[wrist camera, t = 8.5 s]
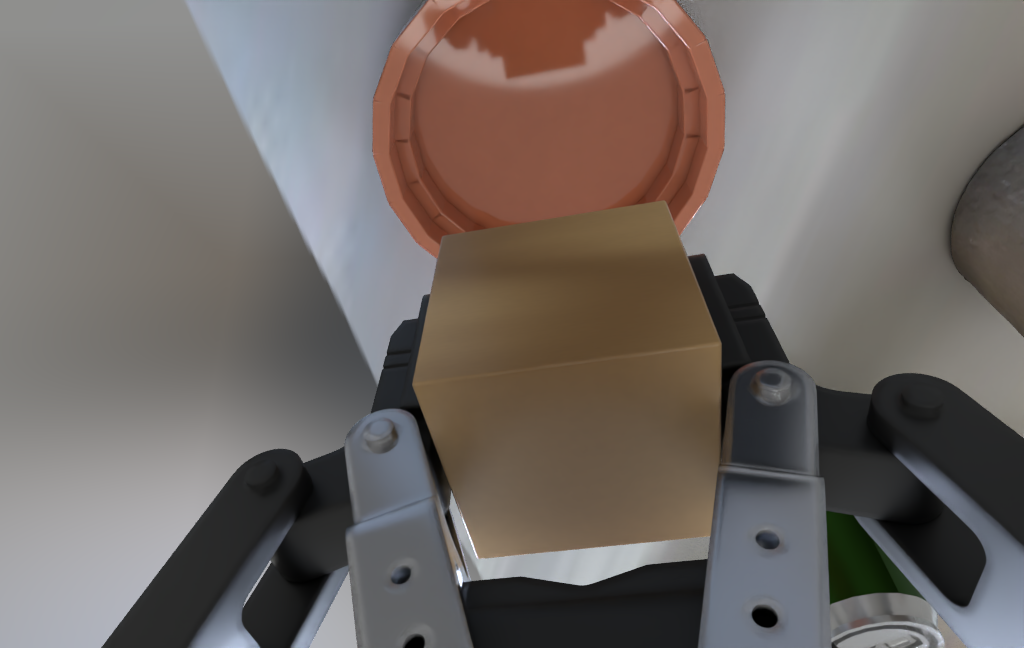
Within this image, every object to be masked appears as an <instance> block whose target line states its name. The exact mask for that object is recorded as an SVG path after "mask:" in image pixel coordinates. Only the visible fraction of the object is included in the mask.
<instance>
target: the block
mask: <svg viewBox="0 0 1024 648" xmlns="http://www.w3.org/2000/svg"><path fill="white" fill-rule="evenodd" d="M721 376H722V343H721V341H720V338H719V336H718V333H717V330H716V328H715V325H714V323H713V320H712V318H711V315H710V313H709V310H708V307H707V305H706V302H705V300H704V297H703V295H702V292H701V290H700V287H699V285H698V282H697V279H696V277H695V274H694V272H693V269H692V267H691V264H690V262H689V259H688V256H687V254H686V251H685V249H684V246H683V244H682V241H681V239H680V236H679V234H678V231H677V228H676V226H675V223H674V221H673V218H672V216H671V213H670V211H669V208H668V206H667V203H666V201H657V202H651V203H644V204H638V205H632V206H626V207H620V208H613V209H607V210H601V211H595V212H588V213H582V214H576V215H570V216H564V217H557V218H551V219H545V220H539V221H533V222H526V223H520V224H514V225H508V226H501V227H495V228H489V229H483V230H477V231H470V232H464V233H458V234H452V235H446V236H442V239H441V244H440V249H439V254H438V259H437V264H436V269H435V274H434V279H433V283H432V288H431V293H430V298H429V303H428V308H427V313H426V318H425V323H424V328H423V333H422V338H421V343H420V348H419V353H418V358H417V363H416V368H415V373H414V378H413V383H412V386H413V389H414V391H415V394H416V397H417V399H418V402H419V405H420V407H421V410H422V413H423V415H424V418H425V421H426V423H427V426H428V429H429V431H430V434H431V437H432V439H433V442H434V445H435V447H436V450H437V453H438V455H439V458H440V461H441V463H442V466H443V469H444V472H445V474H446V477H447V480H448V482H449V485H450V488H451V490H452V493H453V496H454V498H455V501H456V504H457V506H458V509H459V512H460V514H461V517H462V520H463V522H464V525H465V528H466V530H467V533H468V536H469V538H470V541H471V544H472V546H473V549H474V552H475V555H476V557H477V558H478V559H484V558H494V557H504V556H514V555H524V554H535V553H545V552H555V551H565V550H575V549H585V548H595V547H606V546H616V545H626V544H636V543H646V542H656V541H666V540H677V539H687V538H697V537H707V536H710V534H711V525H712V516H713V507H714V498H715V490H716V481H717V472H718V466H719V463H720V464H721Z"/></svg>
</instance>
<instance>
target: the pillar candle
mask: <svg viewBox="0 0 1024 648" xmlns="http://www.w3.org/2000/svg"><path fill="white" fill-rule="evenodd" d="M951 253H952V258H953V261H954V264H955V265H956V268H957V270H958V271H959V273H960V274H961V275H963V276H964V278H965V280H967V281H969V282H970V283H971V284H972V285H973V286H974V287H975V288H976V289H977V290H978V292H979V293H980V294H981V295H982V296H983V297H984V298H985V299H986V300H987V301H988V302H989V303H990V304H991V305H992V306H993V307H994V308H995V309H996V310H997V311H998V312H999V313H1000V314H1001V315H1002V316H1004V317H1005V318H1006V319H1007V320H1008V321H1009V322H1010V323H1011V324H1012V326H1013V327H1014V328H1015V329H1016V330H1017V331H1018V332H1019V333H1020V334H1021V335H1022V336H1023V337H1024V127H1023V128H1021V129H1020V130H1019V131H1018V132H1016V134H1014V135H1013V136H1011V137H1010V138H1009V140H1007V141H1006V142H1005V143H1004V144H1002V145H1001V146H1000V147H999V148H998V149H997V150H995V151H994V152H993V153H992V154H991V156H990V157H989V158H988V159H987V160H986V161H985V162H984V163H983V165H982V166H981V168H980V169H979V170H978V172H977V173H976V174H975V176H974V177H973V178H972V180H971V181H970V182H969V184H968V186H967V188H966V191H965V192H964V193H963V196H962V197H961V200H960V201H959V204H958V207H957V208H956V211H955V217H954V220H953V224H952V230H951Z"/></svg>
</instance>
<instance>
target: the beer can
mask: <svg viewBox="0 0 1024 648" xmlns="http://www.w3.org/2000/svg"><path fill="white" fill-rule="evenodd" d="M826 525H827V549H828V574H829V598H830V622H831V642H832V643H834V644H835V645H836V646H837V647H838V648H944V638H943V636H942V634H941V632H940V631H939V629H938V613H937V612H936V611H935V610H934V609H933V607H932V606H931V605H930V604H929V603H928V602H927V601H926V599H925V598H924V597H923V596H922V595H921V594H920V593H919V591H918V590H917V589H916V588H915V587H914V586H913V585H912V583H911V582H910V581H909V580H908V579H907V578H906V577H905V575H904V574H903V573H902V572H901V571H900V570H899V568H898V567H897V566H896V565H895V564H894V563H893V562H892V560H891V559H890V558H889V557H888V556H887V555H886V554H885V552H884V551H883V550H882V549H881V548H880V547H879V546H878V544H877V543H876V542H875V541H874V540H873V539H872V537H871V536H870V535H869V534H868V533H867V532H866V531H865V529H864V528H863V527H862V526H861V525H860V524H859V522H858V521H857V520H856V518H855V516H854V515H849V514H843V513H837V512H831V511H826Z"/></svg>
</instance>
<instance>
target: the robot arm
mask: <svg viewBox="0 0 1024 648" xmlns="http://www.w3.org/2000/svg"><path fill="white" fill-rule="evenodd" d="M688 259H689V262H690V264H691V267H692V269H693V272H694V274H695V277H696V279H697V282H698V285H699V287H700V290H701V292H702V295H703V297H704V300H705V302H706V305H707V307H708V310H709V313H710V315H711V318H712V320H713V323H714V325H715V328H716V330H717V333H718V336H719V338H720V341H721V343H722V376H721V464H720V463H719V466H718V472H717V481H716V490H715V498H714V507H713V516H712V525H711V534H710V543H709V552H708V559H703V560H693V561H682V562H671V563H661V564H650V565H645V566H642V567H639V568H637V569H634V570H631V571H628V572H625V573H622V574H619V575H616V576H613V577H611V578H608V579H605V580H602V581H599V582H596V583H593V584H590V585H584V586H580V585H572V584H566V583H559V582H553V581H546V580H540V579H533V578H527V577H511V578H500V579H490V580H479V581H471V579H470V575H469V571H468V568H467V564H466V561H465V557H464V554H463V550H462V547H461V543H460V540H459V536H458V533H457V529H456V526H455V522H454V519H453V515H452V512H451V510H450V507H449V505H450V496H451V488H450V485H449V482H448V480H447V477H446V474H445V472H444V469H443V466H442V463H441V461H440V458H439V455H438V453H437V450H436V447H435V445H434V442H433V439H432V437H431V434H430V431H429V429H428V426H427V423H426V421H425V418H424V415H423V413H422V410H421V407H420V405H419V402H418V399H417V397H416V394H415V391H414V389H413V386H412V383H413V378H414V373H415V368H416V363H417V358H418V353H419V348H420V343H421V338H422V333H423V328H424V323H425V318H426V313H427V308H428V303H429V298H430V294H428V295H424V296H423V299H422V303H421V308H420V312H419V317H418V319H412V320H405V321H403V322H402V324H401V325H400V326H399V327H398V328H397V330H396V331H395V332H394V333H393V335H392V336H391V338H390V342H389V346H388V350H387V356H386V357H385V361H384V365H383V367H384V369H383V370H382V373H381V376H380V380H379V384H378V388H377V392H376V396H375V399H374V403H373V407H372V411H371V414H369V415H368V416H366V417H364V418H362V419H361V420H360V421H358V423H356V424H355V425H354V426H353V427H352V428H351V430H350V431H349V433H348V434H347V436H346V439H345V443H344V447H342V448H340V449H339V450H336V451H334V452H332V453H329V454H326V455H324V456H321V457H318V458H316V459H313V460H311V461H308V462H305V463H303V462H302V460H301V458H300V457H299V456H298V454H296V453H295V452H293V451H291V450H287V449H274V450H270V451H266V452H263V453H261V454H258V455H256V456H254V457H253V458H251V459H249V460H248V461H247V462H245V463H244V464H243V465H241V466H240V467H239V468H238V469H237V471H236V472H235V473H234V474H233V475H232V477H231V478H230V479H229V480H228V482H227V483H226V484H225V486H224V487H223V489H222V490H221V491H220V492H219V494H218V495H217V496H216V498H215V499H214V501H213V502H212V503H211V504H210V505H209V507H208V508H207V510H206V511H205V512H204V513H203V515H202V516H201V517H200V519H199V520H198V521H197V523H196V524H195V525H194V527H193V528H192V529H191V531H190V532H189V533H188V534H187V536H186V537H185V538H184V540H183V541H182V542H181V544H180V545H179V546H178V548H177V549H176V551H174V553H173V554H172V556H171V557H170V558H169V559H168V561H167V562H166V564H165V565H164V566H163V567H162V569H161V570H160V571H159V573H158V574H157V575H156V577H155V578H154V579H153V580H152V582H151V583H150V584H149V586H148V587H147V589H146V590H145V591H144V592H143V594H142V595H141V596H140V598H139V599H138V600H137V602H136V603H135V604H134V605H133V607H132V608H131V609H130V611H129V612H128V613H127V615H126V616H125V617H124V619H123V620H122V621H121V623H120V624H119V625H118V627H117V628H116V629H115V630H114V632H113V633H112V635H111V636H110V637H109V638H108V640H107V641H106V642H105V644H104V645H103V646H102V647H101V648H309V646H310V644H311V643H312V641H313V639H314V637H315V635H316V633H317V631H318V629H319V627H320V625H321V623H322V622H323V620H324V618H325V616H326V614H327V612H328V610H329V608H330V606H331V604H332V602H333V600H334V598H335V597H336V595H337V593H338V591H339V589H340V587H341V585H342V583H343V581H344V579H345V577H346V576H347V574H348V572H349V574H350V583H351V592H352V602H353V611H354V620H355V629H356V639H357V647H358V648H838V647H837V646H836V645H835V644H834V643H832V642H831V622H830V598H829V574H828V549H827V525H826V511H831V512H837V513H843V514H849V515H854V516H855V518H856V520H857V521H858V522H859V524H860V525H861V526H862V527H863V528H864V529H865V531H866V532H867V533H868V534H869V535H870V536H871V537H872V539H873V540H874V541H875V542H876V543H877V544H878V546H879V547H880V548H881V549H882V550H883V551H884V552H885V554H886V555H887V556H888V557H889V558H890V559H891V560H892V562H893V563H894V564H895V565H896V566H897V567H898V568H899V570H900V571H901V572H902V573H903V574H904V575H905V577H906V578H907V579H908V580H909V581H910V582H911V583H912V585H913V586H914V587H915V588H916V589H917V590H918V591H919V593H920V594H921V595H922V596H923V597H924V598H925V599H926V601H927V602H928V603H929V604H930V605H931V606H932V607H933V609H934V610H935V611H936V612H937V613H938V614H939V616H940V617H941V618H942V619H943V620H944V621H945V622H946V624H947V625H948V626H949V627H950V628H951V629H952V630H953V632H954V633H955V634H956V635H957V636H958V637H959V638H960V640H961V641H962V642H963V643H964V644H965V645H966V647H967V648H1024V438H1023V437H1021V436H1020V435H1019V434H1017V433H1016V432H1015V431H1014V430H1012V429H1011V428H1010V427H1008V426H1007V425H1006V424H1004V423H1003V422H1002V421H1001V420H999V419H998V418H997V417H995V416H994V415H993V414H991V413H990V412H989V411H987V410H986V409H985V408H984V407H982V406H981V405H980V404H978V403H977V402H976V401H974V400H973V399H972V398H971V397H969V396H968V395H967V394H965V393H964V392H963V391H961V390H960V389H959V388H957V387H956V386H954V385H953V384H951V383H949V382H947V381H945V380H942V379H939V378H937V377H933V376H929V375H924V374H916V373H903V374H896V375H892V376H889V377H887V378H884V379H883V380H881V381H880V382H878V383H877V384H876V386H875V387H874V389H873V391H872V395H871V394H861V393H851V392H842V391H835V390H830V389H826V388H823V387H820V386H817V385H815V383H814V381H813V379H812V378H811V377H810V376H809V375H808V374H807V373H806V372H805V371H803V370H802V369H800V368H798V367H796V366H794V365H791V364H790V363H789V361H788V359H787V357H786V355H785V353H784V351H783V349H782V347H781V345H780V343H779V341H778V339H777V337H776V335H775V333H774V331H773V329H772V327H771V325H770V323H769V321H768V319H767V318H766V317H765V313H764V311H763V309H762V307H761V305H759V301H758V299H757V297H756V295H755V293H754V291H753V289H752V287H751V286H750V285H749V284H747V283H746V282H745V281H743V280H742V279H740V278H739V277H738V276H736V275H735V274H726V275H719V276H714V274H713V272H712V269H711V267H710V265H709V262H708V260H707V258H706V256H705V254H700V255H693V256H688ZM270 560H271V562H272V563H271V564H270V566H269V567H268V569H267V571H266V572H265V574H264V575H263V577H262V578H261V580H260V582H259V583H258V585H257V587H256V588H255V590H254V591H253V593H252V595H251V596H250V598H249V599H248V601H247V602H246V604H245V606H244V602H245V600H246V598H247V596H248V594H249V593H250V591H251V590H252V588H253V586H254V585H255V583H256V582H257V580H258V579H259V577H260V575H261V574H262V572H263V570H264V569H265V567H266V566H267V564H268V563H269V561H270ZM243 606H244V607H243Z"/></svg>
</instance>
